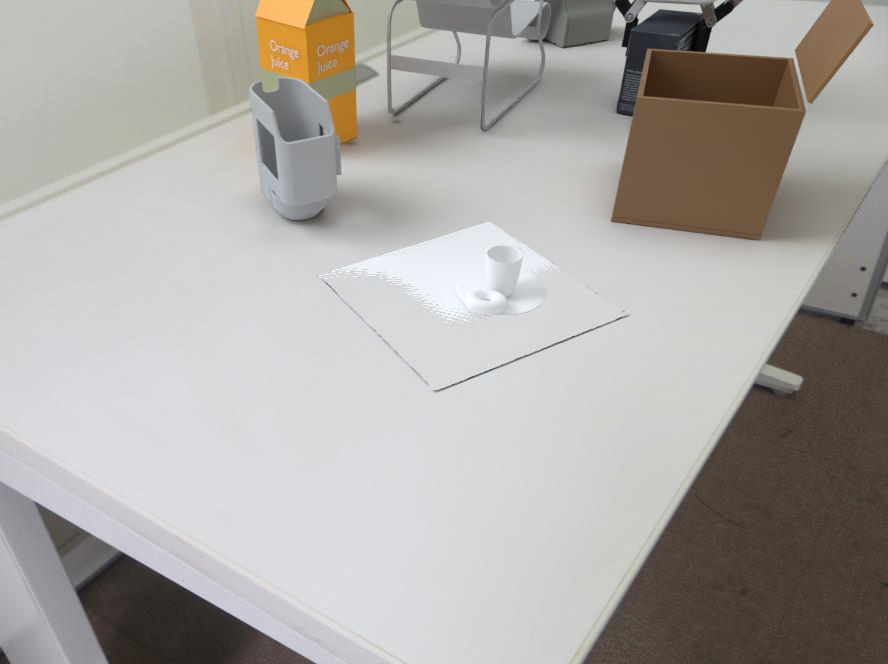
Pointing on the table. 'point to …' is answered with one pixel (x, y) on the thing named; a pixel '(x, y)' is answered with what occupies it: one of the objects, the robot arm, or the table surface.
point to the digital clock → (579, 21)
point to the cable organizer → (295, 147)
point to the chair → (476, 12)
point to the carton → (709, 142)
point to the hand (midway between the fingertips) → (661, 54)
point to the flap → (830, 43)
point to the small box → (654, 34)
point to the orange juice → (312, 52)
